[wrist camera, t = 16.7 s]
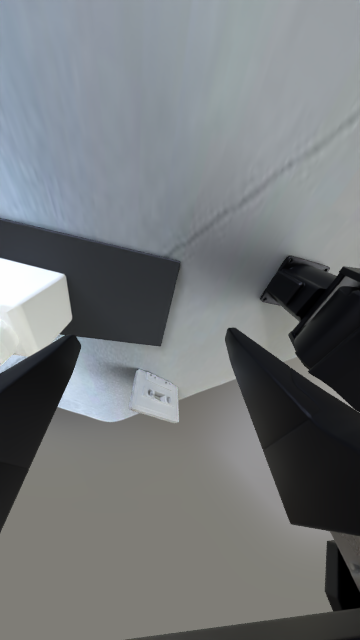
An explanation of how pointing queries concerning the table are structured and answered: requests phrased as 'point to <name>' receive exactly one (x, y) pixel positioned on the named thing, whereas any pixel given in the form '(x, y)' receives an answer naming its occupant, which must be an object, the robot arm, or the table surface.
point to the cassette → (145, 401)
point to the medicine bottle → (30, 308)
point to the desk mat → (99, 282)
